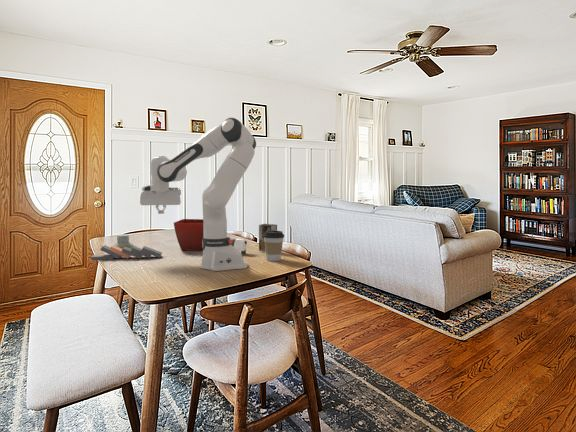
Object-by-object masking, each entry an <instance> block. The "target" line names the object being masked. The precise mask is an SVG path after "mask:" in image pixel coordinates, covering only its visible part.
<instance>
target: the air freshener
mask: <svg viewBox="0 0 576 432" xmlns="http://www.w3.org/2000/svg"><path fill="white" fill-rule="evenodd" d="M116 239H117V240H116V241H117V242H116V243H115V244H113V245H115V246H117V247H119V248H121V249H123V248H124V247H127V248H130V249H132V248H133V246H135V245H134V244H133V243H132V242H131V241H129V240H130V235H129V234H117V236H116Z"/></svg>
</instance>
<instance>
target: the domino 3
mask: <svg viewBox="0 0 576 432" xmlns="http://www.w3.org/2000/svg"><path fill="white" fill-rule="evenodd" d="M110 251H112V252H115V253H117V254H119V255H121V256H122V258H125V259H128V260H129V258H131V257H132V256H131V255H128V254H126V253H123V252H121V251H122V249H121V248H119V247H117V246H115V245H114V244H113V245H111V246H110Z"/></svg>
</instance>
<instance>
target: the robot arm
mask: <svg viewBox="0 0 576 432" xmlns="http://www.w3.org/2000/svg"><path fill="white" fill-rule="evenodd" d="M228 145H229V146H230V145H231V150H230V152H229V153H228V155H226V158H225V159H224V160H223V162H222V163H221V166H220V167H219V168H218V170H217V172H216V174H215V176H214V178H213V179H212V181H211V182H210V185H209V186H207V187H206V188H204V189H203V191H202V196H201V199H202V201H201V202H202V219H203V232H204V237H203V240H202V248H203V250H202V258H201V262H200V266H199V267H200V268H201V269H204V270H210V271H213V272H214V271H215V272H217V271H218V272H220V271H229V270H230V271H231V270H241V269H246V268H247V267H248V262H247V261H245V260H244V257H243V255H242V254H241V251H239V250H237V249H236V248H235V247H233V246H232V245H231V243H232V242H233V241H232V238H231V237H230V238H228V237H229V236H228V219H227V211H226V206H227V204H228V203H229V201H230V200H231V197H232V196H233V194H234V192H235V190H236V188H237V185H239V182H240V181H241V179H242V178H243V175H245V173H246V171H247V169H248V168H249V166H250V164H251V163H252V161H253V158H254V156H255V149H256V147H257V141H256V139H255V136H254V135H253V134H251V132H250V130H249V129H248V128H247V127H246V126H245V125H244V124H243V123H242V122H241V121H240V120H238V119H237V118H235V117H227V118H226V119H225V120H224V121H223V122H222V123H220V124H218V125H215V126H214V127H213V128H211V129H210V130H208V131H207V132H206V133H205V134H203V135H202V136H201V137H200V138H199V139H198V140H196V141H195V142H194V143H193V144H191V145H190V146H189V147H188V148H186V149H185V150H183V151H182V152H180V153H179V154H178V155H176V156H175V157H173V158H172V159H170V158H168V157H167V156H165V155H162V156H155V157H153V158H152V159H151V162H150V175H151V180H150V181H151V182H150V183H151V184H147V185H145V186H143V187H142V188H141V191H142V192H140V196H139V197H140V199H139V204H140V205H141V206H155V208H156V209H155V210H157V213H158V215H159V214H161V215H162V214H165V209H166V208H167V206H179V205H181V203H182V202H181V201H182V200H181V195H182V190H181V188H180V187H179V188H178V187H170V183H172V182H181V181H183V180H184V179H186V177H187V174H188V173H187V172H188V171H187V168H186V167H187V166H188V165H190V163H193V162H194V161H195V160H199V159H204V158H210V157H213V156H214V155H216V154H218V153H219V152H221V151H222V150H223V149H224V148H225V147H227V146H228ZM160 206H162V207H163V209H160V208H159V207H160Z"/></svg>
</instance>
